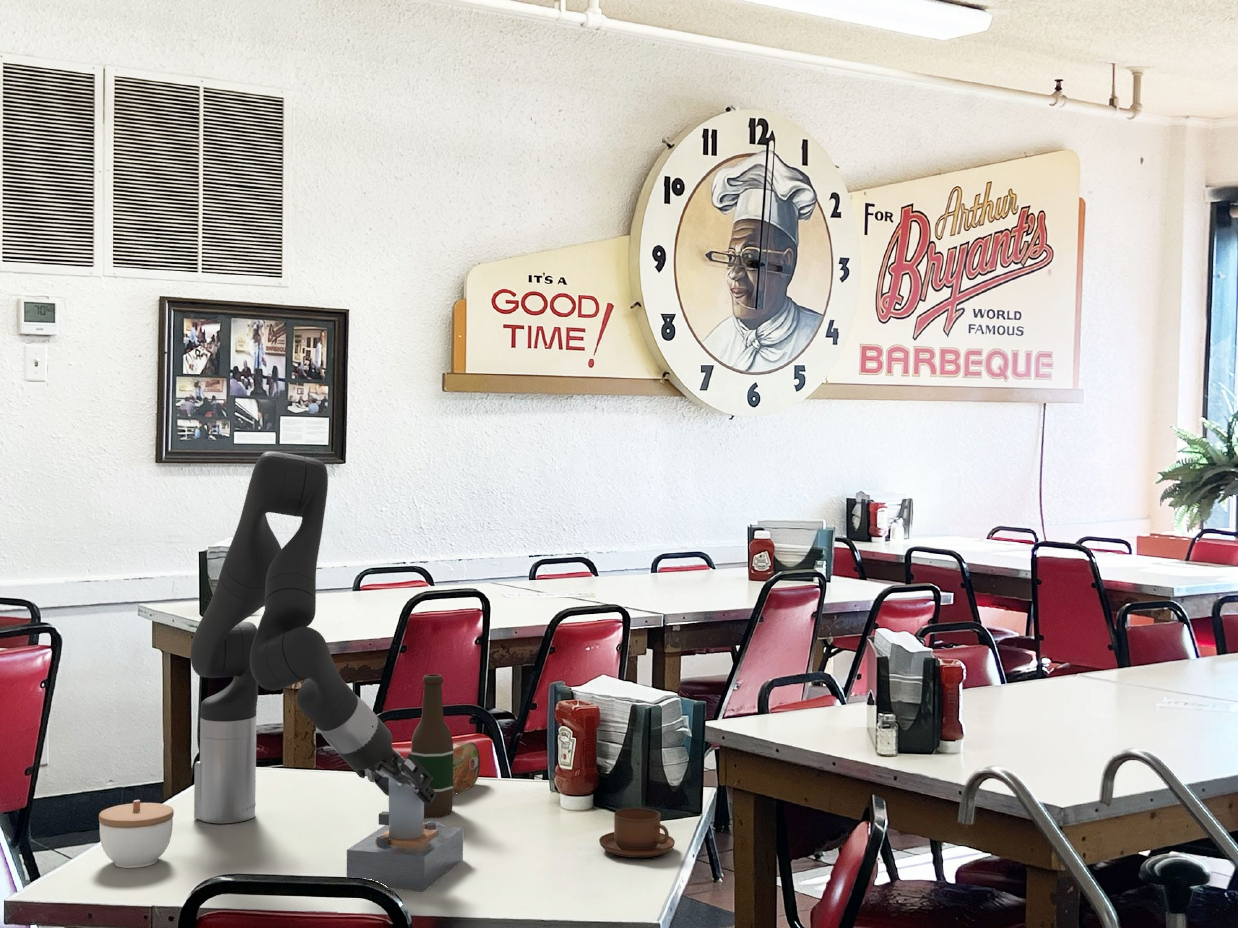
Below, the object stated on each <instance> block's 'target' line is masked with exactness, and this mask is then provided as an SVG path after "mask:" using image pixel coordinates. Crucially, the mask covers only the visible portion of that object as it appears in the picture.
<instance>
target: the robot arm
mask: <svg viewBox="0 0 1238 928" xmlns="http://www.w3.org/2000/svg"><path fill="white" fill-rule="evenodd" d="M328 476H329V474H328V469H327V466H326V465H325V463H324V462H323V461H322V460H319V459H317V458H313V457H309V456H304V455H299V454H298V455H297V454H293V453H286V452H280V451H265V452H263V453H261V455H260V456H259V458H257V460H256V462H255V465H254V467H253V470H252V474H251V477H250V479H249V483H248V488H247V492H246V494H245V499H244V503H243V507H242V510H241V515H240V518H239V522H238V525H237V527H236V530H235V532H234V536H233V538H232V540H231V543H230V545H229V548H228V550H227V553H226V555H225V557H224V561H223V563H222V566H221V569H220V572H219V576H218V580H217V582H216V585H215V588H214V592H213V593H212V597H211V600H210V602H209V604H208V605H207V608H206V609H205V612H204V614H203V615H202V617H201V619H200V620H199V621H200V622H199V623H198V626H197V628H196V630H195V632H194V635H193V637H192V641H191V647H190V663H191V664H190V665H191V667H192V669H193V671H194V672H195V673H196V674H197V675H198V676H200V677H202V678H208V679H216V678H217V679H218V678H230V677H231V678H233V679H232V681H231V682H230V684H228V686H226V687H225V688H224V689H223V690H220V691H219V692H217V693H215V694H213V695H211V696H208V697H206V698H205V699H204V700H202V701H201V704H200V714H199V715H200V716H199V717H200V719H199V720H200V723H199V725H200V726H199V727H200V728H199V730H200V732H199V740H200V741H199V761H198V760H197V761H196V762H195V763H194V784H193V785H194V786H193V787H194V797H193V799H194V803H193V819H195V820H200V821H202V822H204V823H209V824H210V823H211V824H234V823H240V822H244V821H248V820H250V819H253V818H254V817H255V815H256V785H257V784H256V783H257V782H256V781H257V780H256V778H257V776H256V774H257V773H256V771H257V706H258V699H259V698H258V697H259V686H260V687H261V688H263V689H264V690H267V691H271V692H272V691H273V692H275V691H278V690H282V689H285V688H288V687H290V686H292V685H294V684H298V683H300V682H303V681H304V682H303V684H302V685H301V686H300V687H299V689H298V691H297V693H296V703H297V706H298V708H299V709H300V711H301V712H302V713H303V714H304V716H305V717H307V719H309V721H310V722H311V723H312V724H313V726H315V727H316V729H317V730H318V731H319V732H320V734H321V736H322V737H323V738H324V739H325V741H326V742H327V743H328V744H329V745H330V746H331V748H332V749H333V750H334V751H335V752H336V753H337V754H338V755H339V756H340V757H341V758H342V760H344V761H345V763H346V764H347V765H348V766H349V767H350V768H351V769H352V770H353V771H354V772H355V773H356V775H357V776H358V777H359V778H360V779H366V778H365V777H367V780H368V781H369V782H371V783H374V784H375V785H376V786H377V787H378V788H379V789H380V790H381V791H382V793H383V794H385V795H386V796H387V797H389V779H390V780H392V781H393V782H394V783H396V784H397V785H399V786H403V785H405V786H406V787H408V788H409V789H411V790H412V791H413V792H414V793H415V794H416V795H417V796H418V797H419V798H420V799H421V801H422V802H423V803H424V804H425V805H429V806H430V805H431V804H432V802H433V801H434V799H435V798H436V792H435V791H434V790H433V789H432V788H431V786H430V785H429V784H430V782H431V780H432V779H433V777H432V776H431V775H430V774H429V772H428V771H427V770H426V769H425V768H424V767H423V766H422V765H421V764H420V763H419V762H418V761H417V760H416V758H415V757H414V756H413V755H411V753H408V754H407V755H406V756H405V757H403V756H401V753H400V752H399V751H397V750H396V749H395V748H393V735H392V732H391V730H390V729H389V728H388V727H387V726H386V725H385V723H384V722H383V721H382V720H381V719H380V717H379V716H378V715H377V714H376V713H375V712H374V710H372V708H371V707H370V706H369V705H368V704H367V703H366V701H364V700H363V699H361V698H360V697H359V696H358V695H357V694H356V693H355V692H354V691H353V690H352V689H351V687H350V686H349V685H348V684H347V682H345V681H346V680H345V681H344V679H343V678H342V675H341V674H340V672H339V670H338V668H337V665H336V663H335V661H334V659H333V657H332V654H331V652H330V648H329V647H328V643H327V642H326V639H325V638H324V636H323V635H322V633H320V632H319V631H318V630H316V629H314V628H312V627H309V626H310V625H311V624H312V622H313V621H314V619H315V616H316V609H317V607H316V606H317V605H316V602H317V601H316V599H317V598H316V597H317V591H316V590H317V586H316V585H317V583H316V581H317V580H316V578H317V567H318V565H317V564H318V557H319V551H320V547H321V546H320V545H321V541H322V540H321V538H322V534H323V527H324V520H325V519H324V518H325V513H326V505H327V497H328V489H329V477H328ZM267 513H271V514H274V513H275V514H279V515H286V516H291V517H297V518H298V517H299V518H301V523H300V525H299V528H298V529H297V531H296V532H295V533H294V535H293V536H292V537H291V538H290V540H289V541H288V542H287V543H286V544H285V545H284V546H283V547H281V544H280V542H279V540H278V539H277V537H276V536H275V534H274V532H273V530H272V529H271V526H270V524H269V522H268V518H267ZM263 607H264V610H263V614H262V616H261V618H260V620H259V624H258V627H257V626H256V625H255V623H253V622H251V621H245V620H246V619H248V618H249V617H250V616H253V614H255V613H256V612H258V611H259V610H260V609H262V608H263ZM400 772H401V773H402V774H403V777H402V778H398V777H397V776H398V775H399V773H400ZM408 779H409V780H410V781H411V782H412V783H413V784H412V783H411V782H409V781H408Z"/></svg>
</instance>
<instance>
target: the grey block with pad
mask: <svg viewBox="0 0 1238 928" xmlns="http://www.w3.org/2000/svg"><path fill="white" fill-rule="evenodd" d="M463 860H464V827H463V826H462V827H461V826H460V827H459V826H449V825H448V826H447V825H443V823H440V822H439V821H436V820H429V821H428V822H426V823H425V822H424V835H423V836H421V837H418V838H413V839H395V838H391V837H389V825H382V826H381V827H380V828H379V829H377V830H376V831H374V832H372V833H371V834H369V835H368V836H366V837H365V838H363V839H361V840H360V841H358V842H356V843H355V844H353V845H352V846H351V847H348V849H346V878H347V877H353V878H366V879H372V880H374V881H378V882H379V883H382V884H384V885H386V886H387V887H388V888H387V889H393V890H394V889H395V890H404V891H405V890H406V891H415V892H426V890H428V889H429V888H430V887H431V886H433V885H434V884H435V883H436V882H437V881H439V880H440V879H442V877H443V876H446V874H448V873H449V872H450V871H451V870H452V869H453V868H456V866H458V864H460V863H461V862H462V861H463Z"/></svg>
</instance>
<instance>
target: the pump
mask: <svg viewBox="0 0 1238 928" xmlns="http://www.w3.org/2000/svg"><path fill="white" fill-rule="evenodd" d="M397 777H398V778H402V777H403V774H402V773H401V772H400V773H399V775H398V776H397ZM408 781H409V782H411V781H410V780H409V779H408ZM411 783H412V782H411ZM412 784H413V783H412ZM424 824H425V818H424V803H423V802H422V801H421V799H420V798H419V797H418V796H417V795H416V794H415V793H414V792H413V791H412V790H411V789H409V788H408V787H406V786H405V785H403V786H399V785H397V784H396V783H394V782H393V781H392V780H390V779H389V796H388V811H383V810H382V811H381V812H380V813H378V825H379V826H380V825H381V826H385V825H389V837H391V838H395V839H413V838H418V837H421V836H423V835H424Z"/></svg>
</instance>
